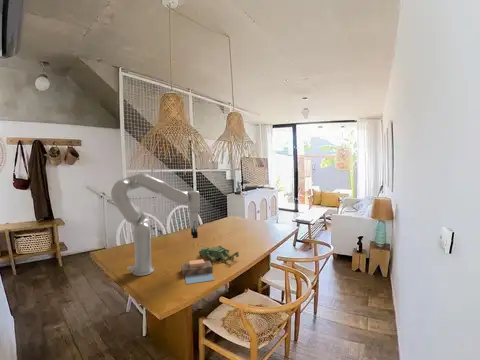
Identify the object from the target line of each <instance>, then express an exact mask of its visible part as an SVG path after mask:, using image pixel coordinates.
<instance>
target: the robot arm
mask: <svg viewBox="0 0 480 360" xmlns="http://www.w3.org/2000/svg"><path fill="white" fill-rule="evenodd" d="M138 188H139V189H140V188H141V189H145V190H147V191H150V192H151V193H154V194H157V195H159V196H161V197H164V198H166V199H168V200H170V201H173V202H175V203H177V204H179V205H180V204H181V205H184V204H186V203H187V212H188V214H189V217H188V218H189V220H188V225H189V227H190V228H191V229H190V235H191V236H192V239H198V236H199V235H198V234H199V233H198V228H199V213H200V212H201V208H200V207H201V205H200V203H201V200H200V198H201V197H200V195H201V194H200V191H198V190H180V189H177V188H175V187H173V186H171V185H169V184H168V183H167V182H165V181H163V180H161V179H158V178H156V177H154V176H151V175H149V174H148V173H146V172H140V173H138V174H134V175H131V176H128V177H124V178H121V179H119V180H117V181H116V182H115V183H114V184H113V186H112V188H111V193H110V195H111V200H112V202H113V203H114V204H115V206H116V207H117V209H118V211H119V212H120V213H121V215H122V216H123V218H124V219H125V221H126V222H128V223H129V224H130V223H131V224H132V225H133V233H132V234H133V245H134V247H133V248H134V265H133V266H129V265H128V266H127V270H128V271H129V272H131V271H132V275H134V276H138V277H139V276H141V277H144V276H146V275H150V274H152V273H153V272H154V271H155V267H154V266H152V244H151V227H152V225H151V221H150V220H149V219H148V217H147V216H146V214H145V213H144V212H143V210H142V208H141V207H140V206H138V205H136V204H134V203H133V201H132V200H131V199H130V197H129V195H128V192H130V191H133V190H136V189H138Z"/></svg>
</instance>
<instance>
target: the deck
mask: <svg viewBox="0 0 480 360" xmlns="http://www.w3.org/2000/svg"><path fill="white" fill-rule="evenodd" d="M204 262H205V266H200V267H192V268H190V266H189V262H185V263H181V272H182V278H185V276H190V275H198V274H205V273H212V274H213V272H214V269H213V265H212V263H211V262H212V261H211V260H204Z"/></svg>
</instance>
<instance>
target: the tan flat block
mask: <svg viewBox="0 0 480 360" xmlns="http://www.w3.org/2000/svg"><path fill="white" fill-rule="evenodd" d="M204 261H205V260H204V259H203V258H201V259H194V260H189V261H188V263H189V266H190V268H192V267H200V266H205V262H204Z"/></svg>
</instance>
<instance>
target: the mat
mask: <svg viewBox="0 0 480 360" xmlns="http://www.w3.org/2000/svg"><path fill="white" fill-rule="evenodd" d="M184 279H185V284H186V285H190V284H197V283H198V284H199V283H206V282H211V281H213V282H214V281H215V278H214V276H213V273H205V274H198V275H190V276H185V277H184Z"/></svg>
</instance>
